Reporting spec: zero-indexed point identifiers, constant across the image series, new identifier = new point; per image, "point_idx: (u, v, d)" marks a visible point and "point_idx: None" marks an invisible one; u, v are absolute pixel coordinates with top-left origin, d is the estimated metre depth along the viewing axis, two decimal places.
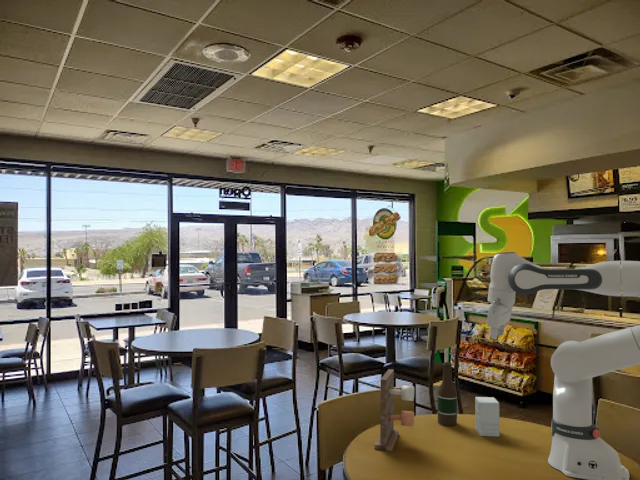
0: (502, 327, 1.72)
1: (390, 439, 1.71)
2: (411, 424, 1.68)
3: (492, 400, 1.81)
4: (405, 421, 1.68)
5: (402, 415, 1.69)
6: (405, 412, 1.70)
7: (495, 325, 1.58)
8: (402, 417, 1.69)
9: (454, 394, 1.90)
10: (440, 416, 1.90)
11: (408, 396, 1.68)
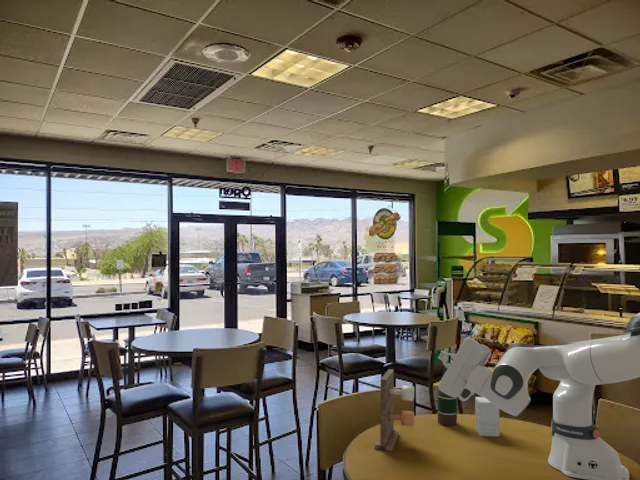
0: (445, 362, 1.60)
1: (390, 439, 1.71)
2: (411, 424, 1.68)
3: None
4: (405, 421, 1.68)
5: (402, 415, 1.69)
6: (405, 412, 1.70)
7: (468, 337, 1.57)
8: (402, 417, 1.69)
9: None
10: (440, 416, 1.90)
11: (408, 396, 1.68)
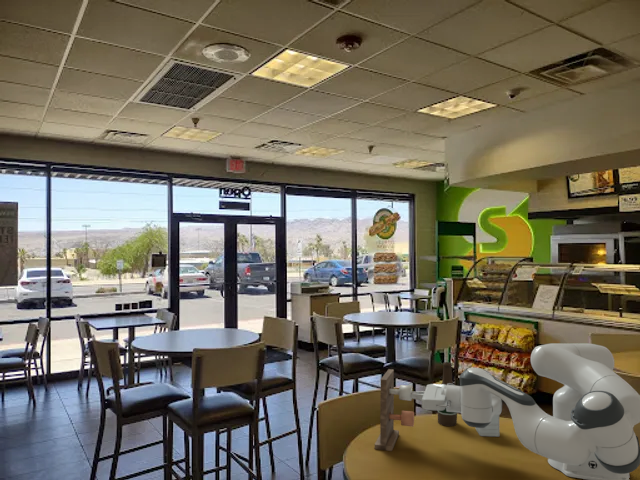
0: None
1: (390, 439, 1.71)
2: (411, 424, 1.68)
3: None
4: (405, 421, 1.68)
5: (402, 415, 1.69)
6: (405, 412, 1.70)
7: (424, 407, 1.59)
8: (402, 417, 1.69)
9: None
10: (440, 416, 1.90)
11: (406, 396, 1.69)
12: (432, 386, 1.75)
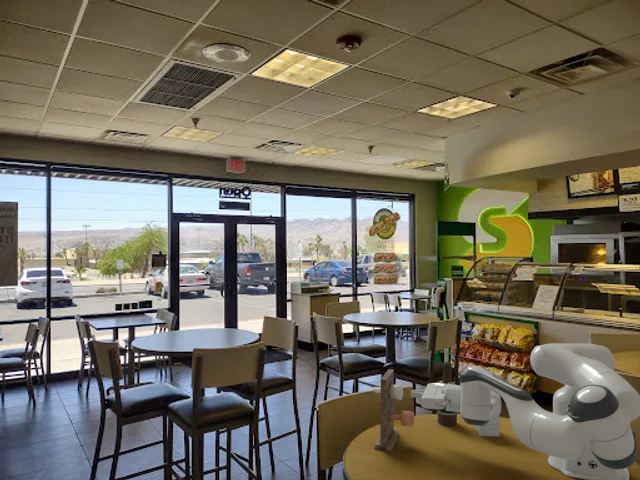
0: None
1: (390, 439, 1.71)
2: (411, 424, 1.68)
3: None
4: (405, 421, 1.68)
5: (402, 415, 1.69)
6: (405, 412, 1.70)
7: (423, 406, 1.60)
8: (402, 417, 1.69)
9: None
10: (440, 416, 1.90)
11: (396, 395, 1.70)
12: (433, 385, 1.75)
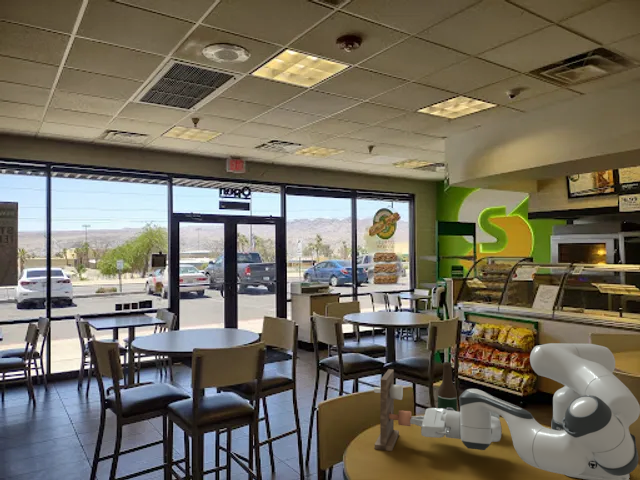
0: None
1: (390, 439, 1.71)
2: (408, 424, 1.68)
3: None
4: (402, 420, 1.69)
5: (399, 415, 1.70)
6: (402, 412, 1.70)
7: (423, 434, 1.59)
8: (399, 417, 1.69)
9: (454, 394, 1.90)
10: None
11: (396, 395, 1.70)
12: (431, 410, 1.74)
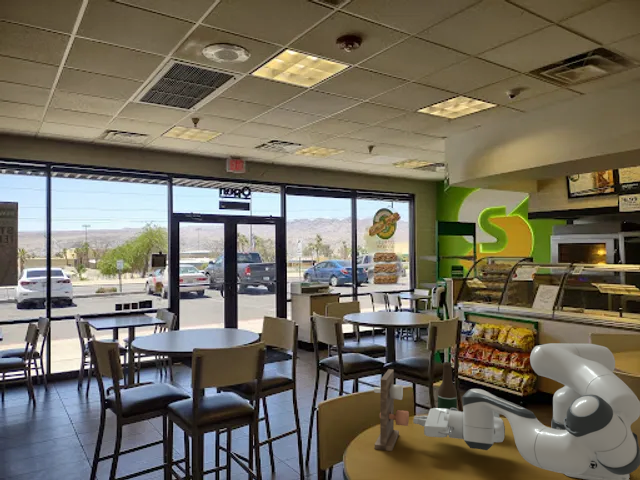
0: None
1: (390, 439, 1.71)
2: (405, 423, 1.69)
3: None
4: (399, 420, 1.69)
5: (396, 414, 1.70)
6: (399, 411, 1.71)
7: (426, 434, 1.59)
8: (396, 416, 1.70)
9: (454, 394, 1.90)
10: None
11: (396, 395, 1.70)
12: (435, 410, 1.75)
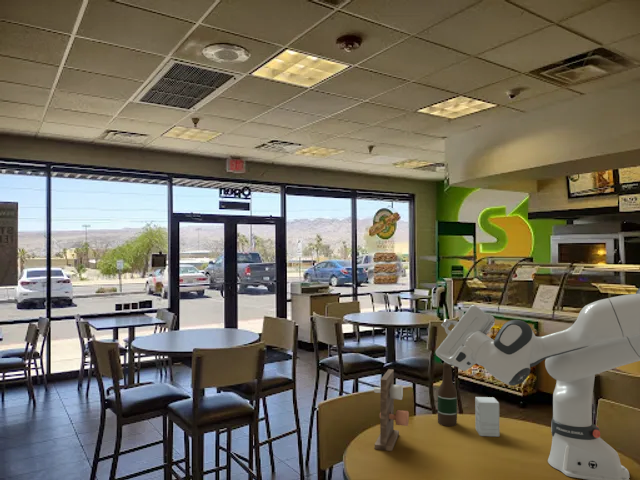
0: (447, 329, 1.55)
1: (390, 439, 1.71)
2: (405, 423, 1.69)
3: (492, 400, 1.81)
4: (399, 420, 1.69)
5: (396, 414, 1.70)
6: (399, 411, 1.71)
7: (474, 305, 1.52)
8: (396, 416, 1.70)
9: (454, 394, 1.90)
10: (440, 416, 1.90)
11: (396, 395, 1.70)
12: None
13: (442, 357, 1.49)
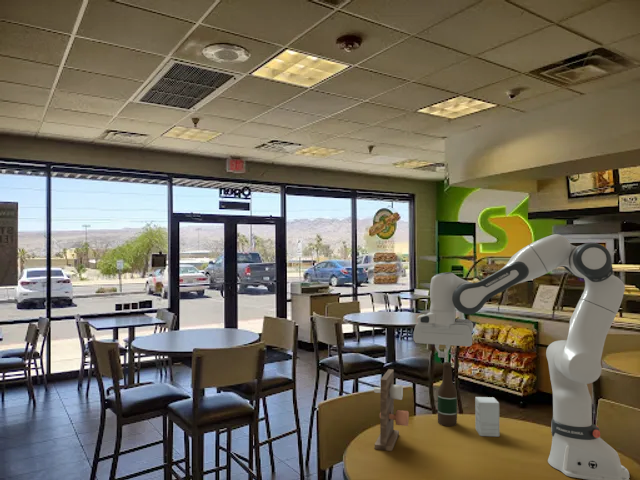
0: (438, 348, 1.71)
1: (390, 439, 1.71)
2: (405, 423, 1.69)
3: (492, 400, 1.81)
4: (399, 420, 1.69)
5: (396, 414, 1.70)
6: (399, 411, 1.71)
7: None
8: (396, 416, 1.70)
9: (454, 394, 1.90)
10: (440, 416, 1.90)
11: (396, 395, 1.70)
12: (422, 337, 1.70)
13: None
